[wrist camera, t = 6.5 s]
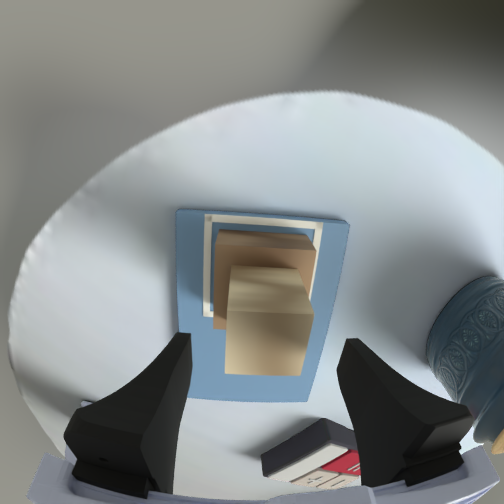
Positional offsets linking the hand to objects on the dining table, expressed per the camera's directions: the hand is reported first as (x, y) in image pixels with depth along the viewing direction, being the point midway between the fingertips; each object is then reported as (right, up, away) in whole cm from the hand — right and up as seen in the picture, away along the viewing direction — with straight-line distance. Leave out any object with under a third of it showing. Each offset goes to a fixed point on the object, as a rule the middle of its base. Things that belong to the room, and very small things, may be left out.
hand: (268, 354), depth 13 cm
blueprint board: (-1, -1, +11) cm, 11 cm away
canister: (+23, -3, +13) cm, 27 cm away
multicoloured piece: (+10, -22, +20) cm, 32 cm away
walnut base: (0, +3, +8) cm, 9 cm away
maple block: (0, +2, +6) cm, 6 cm away
